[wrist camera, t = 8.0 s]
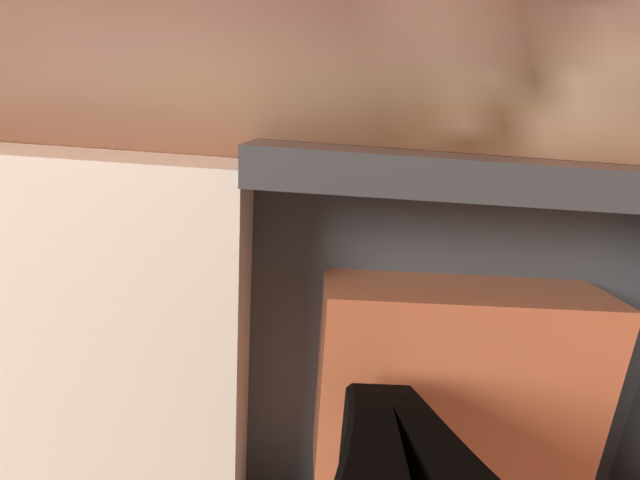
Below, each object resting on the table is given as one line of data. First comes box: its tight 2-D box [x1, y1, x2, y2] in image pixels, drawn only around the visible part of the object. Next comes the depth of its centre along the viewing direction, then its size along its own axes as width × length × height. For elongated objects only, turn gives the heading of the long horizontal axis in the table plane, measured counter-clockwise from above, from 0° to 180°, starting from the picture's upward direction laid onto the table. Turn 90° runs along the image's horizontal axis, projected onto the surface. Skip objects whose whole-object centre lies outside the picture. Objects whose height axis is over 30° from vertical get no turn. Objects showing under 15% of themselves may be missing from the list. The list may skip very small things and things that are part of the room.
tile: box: [313, 268, 640, 480], centre depth 11 cm, size 5×7×2 cm
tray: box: [238, 139, 640, 480], centre depth 11 cm, size 11×12×3 cm
